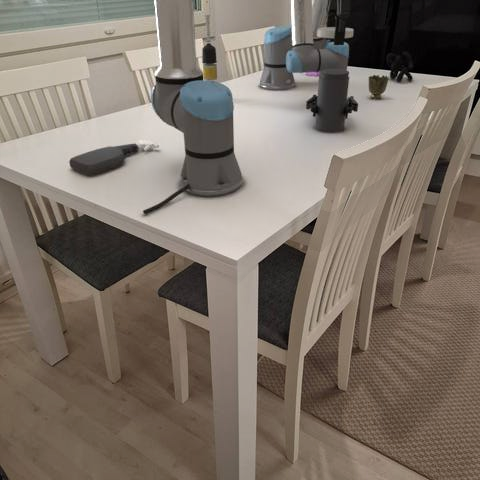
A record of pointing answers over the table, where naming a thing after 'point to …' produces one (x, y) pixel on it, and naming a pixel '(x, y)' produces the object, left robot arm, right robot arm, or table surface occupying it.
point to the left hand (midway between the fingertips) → (334, 42)
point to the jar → (332, 100)
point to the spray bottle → (106, 157)
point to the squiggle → (399, 66)
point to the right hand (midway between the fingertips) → (330, 113)
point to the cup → (377, 85)
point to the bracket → (313, 73)
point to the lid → (333, 32)
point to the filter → (209, 57)
